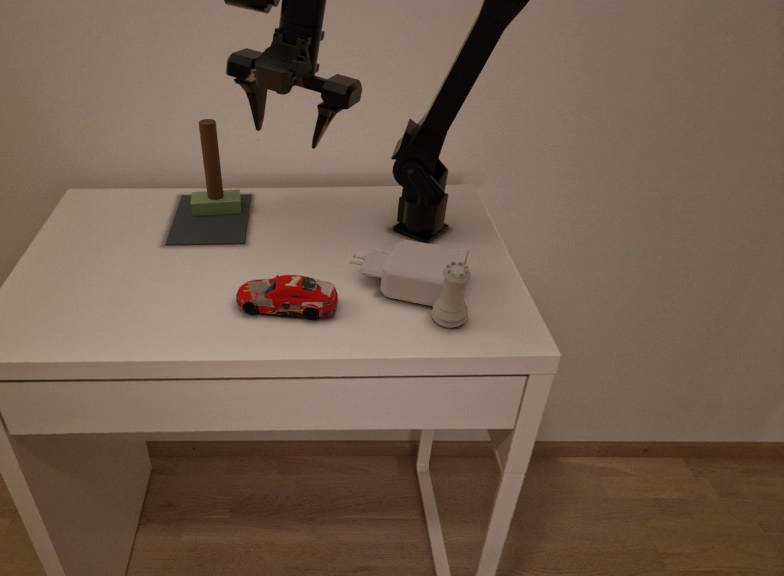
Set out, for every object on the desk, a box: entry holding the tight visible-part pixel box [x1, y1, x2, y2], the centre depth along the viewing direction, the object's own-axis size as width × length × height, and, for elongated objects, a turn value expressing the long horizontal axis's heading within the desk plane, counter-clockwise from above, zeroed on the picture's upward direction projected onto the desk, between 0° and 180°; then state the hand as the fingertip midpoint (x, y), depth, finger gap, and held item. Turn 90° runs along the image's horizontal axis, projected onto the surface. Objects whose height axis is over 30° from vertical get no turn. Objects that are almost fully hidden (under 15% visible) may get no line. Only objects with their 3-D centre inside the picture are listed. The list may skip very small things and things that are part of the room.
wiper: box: [190, 118, 241, 216], centre depth 94 cm, size 8×4×14 cm, turn 96°
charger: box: [348, 239, 469, 307], centre depth 79 cm, size 5×9×15 cm
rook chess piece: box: [431, 260, 472, 329], centre depth 72 cm, size 4×4×8 cm
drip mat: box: [164, 193, 252, 246], centre depth 96 cm, size 17×12×1 cm
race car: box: [235, 274, 339, 321], centre depth 76 cm, size 13×5×4 cm, turn 80°
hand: (285, 139), depth 88 cm, fingers open, 9 cm apart
